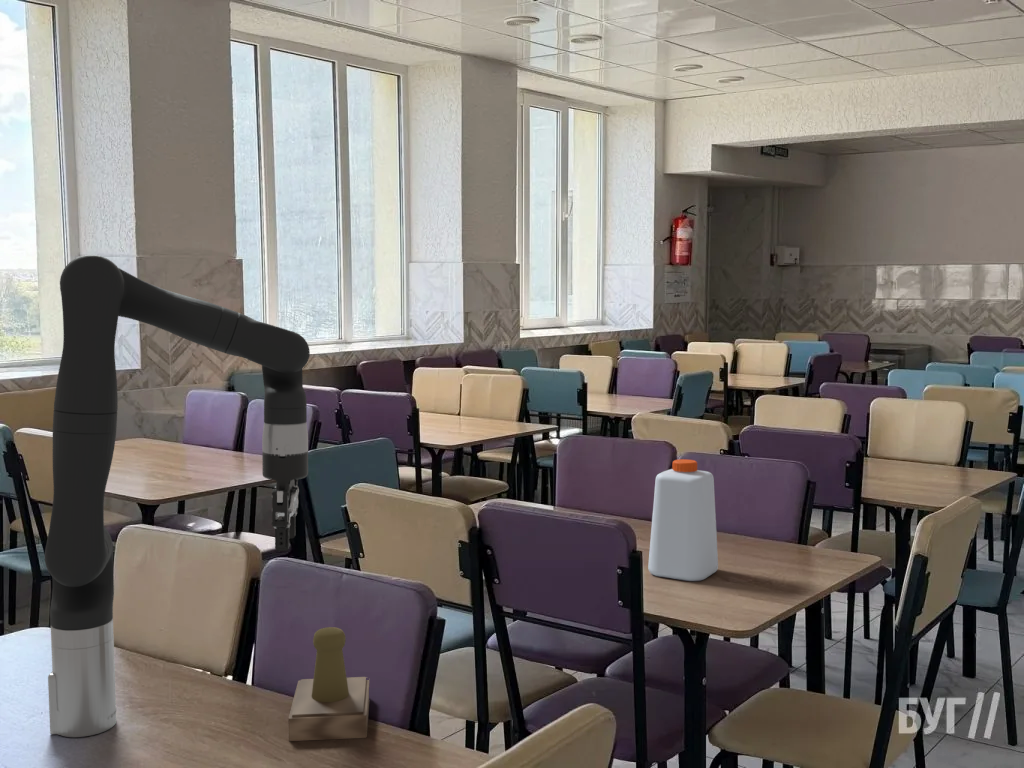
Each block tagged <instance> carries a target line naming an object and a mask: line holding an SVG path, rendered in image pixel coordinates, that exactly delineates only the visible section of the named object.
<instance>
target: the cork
mask: <svg viewBox="0 0 1024 768" xmlns="http://www.w3.org/2000/svg"><path fill="white" fill-rule="evenodd" d="M346 639H347V638H346V634H345V632H344V631H343V629H341V628H340V627H335V626H334V627H332V626H328V627H323V628H320V629H317V630H316V631H315V632H314V635H313V638H312V645H313V647H314V649H316V654H315V655H316V656H315V661H314V662H315V664H314V671H313V678H312V679H313V688H312V696H311V697H312V698H313V699H314V700H316V701H319V702H335V701H340V700H343V699H345V698H347V697H348V695H349V691H348V684H347V678H348V677H347V671H346V666H345V664H346V663H345V657H344V653H343V649H344V647H345V644H346Z"/></svg>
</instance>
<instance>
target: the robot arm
mask: <svg viewBox="0 0 1024 768" xmlns="http://www.w3.org/2000/svg"><path fill="white" fill-rule="evenodd" d="M59 290H60V296H61V304H62V305H61V306H62V307H61V309H62V327H63V329H62V330H63V331H62V332H63V345H62V352H61V357H60V363H59V367H58V374H57V380H56V385H55V393H54V402H53V415H52V416H53V417H52V481H53V497H52V499H53V500H52V509H51V516H50V522H49V528H48V529H49V530H48V533H47V540H46V545H45V549H44V562H45V566H46V567H45V568H46V569H47V571H48V573H49V574H50V576H51V577H52V579H51V580H52V590H51V592H52V593H51V602H50V608H49V619H50V620H49V623H50V645H51V669H52V671H51V672H50V673H49V674H48V676H47V686H48V687H47V688H48V710H49V711H48V713H49V734H50V735H59V736H62V737H67V738H83V737H89V736H94V735H98V734H101V733H103V732H107V731H108V730H110V729H112V728H113V727H114V726H115V725H116V723H117V702H116V701H117V700H116V697H117V695H116V671H115V665H116V664H115V639H114V613H113V612H114V610H113V609H114V597H115V594H114V593H115V579H114V578H115V577H114V575H115V574H114V571H115V570H114V545H113V540H112V537H111V534H110V533H109V531H108V529H107V528H106V527H105V523H104V521H105V519H104V515H105V514H104V509H105V508H104V507H105V506H104V505H105V504H104V503H105V493H106V489H107V483H108V479H109V475H110V471H111V468H112V463H113V458H114V452H115V451H114V450H115V445H116V439H117V438H116V437H117V428H118V427H117V425H118V410H119V409H118V407H119V406H118V404H119V403H118V399H119V398H118V380H117V377H118V375H117V367H116V357H115V356H116V355H115V353H116V352H115V350H116V349H115V347H116V346H115V344H116V334H117V327H118V322H119V317H121V318H125V319H130V320H133V321H138V322H141V323H144V324H147V325H150V326H152V327H156V328H159V329H160V330H164V331H165V332H168V333H169V334H170V333H171V334H173V335H175V336H177V337H179V338H182V339H184V340H186V341H190V342H191V343H194V344H197V345H199V346H201V347H202V346H203V347H206V348H208V349H211V350H214V351H217V352H220V353H224V354H227V355H229V356H233V357H234V356H235V357H240V358H243V359H246V360H247V361H251V362H253V363H256V364H259V365H261V368H262V369H261V371H262V372H261V373H262V381H263V387H264V389H263V390H264V399H263V429H262V437H261V438H262V440H261V442H262V459H261V460H262V461H261V462H262V467H261V468H262V476H263V478H265V479H268V480H274V481H275V482H276V484H275V486H274V489H272V491H271V499H272V502H271V503H272V504H271V505H272V506H271V515H272V516H271V519H272V521H271V525H272V528H274V549H275V550H276V552H277V551H278V552H282V551H283V552H284V551H288V550H289V549H290V539H294V538H295V537H296V516H297V514H298V508H299V492H300V489H299V486H298V482H299V480H301V479H305V478H306V477H308V475H309V431H308V424H307V421H308V419H307V416H308V415H307V414H308V413H307V412H308V407H307V406H308V405H307V395H306V391H305V390H304V385H303V378H304V377H303V368H305V366H306V365H307V363H308V361H309V359H310V355H311V353H310V352H311V351H310V346H309V344H308V341H306V339H305V338H304V337H303V336H302V335H301V334H299V333H298V332H295V331H293V330H289V329H285V328H283V327H281V326H280V327H279V326H277V325H273V324H269V323H266V322H262V321H259V320H256V319H254V318H251V317H250V316H248V315H245V314H243V313H241V312H238V311H235V310H233V309H229V308H227V307H225V306H221V305H219V304H215V303H213V302H210V301H206V300H202V299H199V298H195V297H192V296H188V295H185V294H182V293H178V292H174V291H171V290H168V289H166V288H165V289H164V288H162V287H159V286H157V285H154V284H152V283H149V282H147V281H145V280H142V279H141V278H138V277H136V276H134V275H133V274H131V273H129V272H127V271H125V270H123V269H122V268H120V267H118V265H116V264H115V263H114V262H113V261H112V260H110V259H109V258H107V257H105V256H102V255H99V254H84V255H80V256H77V257H75V258H74V259H72V260H70V262H68V263H67V265H65V267H64V268H63V270H62V272H61V275H60V279H59ZM279 517H281V519H280V518H279Z"/></svg>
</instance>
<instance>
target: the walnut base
mask: <svg viewBox="0 0 1024 768" xmlns="http://www.w3.org/2000/svg"><path fill="white" fill-rule="evenodd" d="M366 678H367V676H356V677H355V676H353V677H347V684H348V691H349V695H348V697H347V698H345V699H343V700H340V701H335V702H319V701H316V700H314V699H313V698H312V697H311V696H312V688H313V679H314V678H301V679H300V680H297V683H296V684H297V685H296V689H295V691H294V696H293V700H292V704H291V706H290V707H291V708H290V712H289V715H288V741H289V742H297V741H298V742H299V741H318V740H319V741H321V740H344V739H345V740H346V739H347V740H348V739H366V738H367V736H368V725H369V711H370V700H369V687H370V679H369V680H366Z"/></svg>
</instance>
